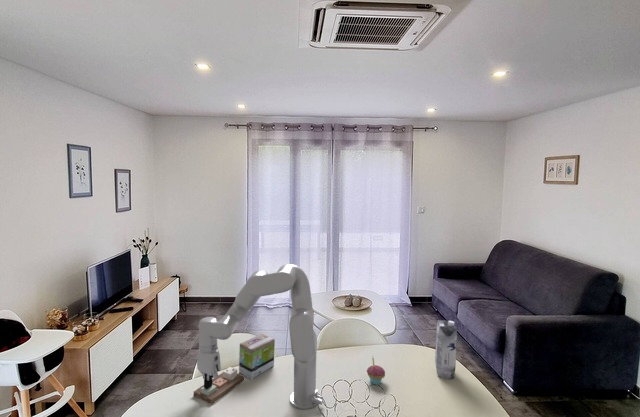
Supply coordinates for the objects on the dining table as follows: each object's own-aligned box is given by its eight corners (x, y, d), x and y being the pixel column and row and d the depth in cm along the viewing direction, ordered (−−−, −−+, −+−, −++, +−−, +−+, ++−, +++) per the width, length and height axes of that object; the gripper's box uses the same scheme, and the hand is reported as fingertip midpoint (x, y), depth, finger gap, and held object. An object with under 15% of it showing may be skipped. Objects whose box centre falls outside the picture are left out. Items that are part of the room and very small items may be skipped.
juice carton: (436, 378, 162) (438, 324, 160) (434, 366, 172) (436, 315, 170) (455, 380, 160) (458, 326, 158) (452, 369, 170) (455, 317, 168)
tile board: (244, 380, 157) (244, 376, 157) (211, 404, 140) (211, 399, 140) (227, 373, 163) (227, 369, 162) (193, 395, 145) (193, 391, 145)
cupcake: (364, 383, 157) (364, 358, 156) (370, 374, 164) (370, 350, 163) (381, 388, 153) (382, 363, 152) (387, 379, 160) (388, 355, 159)
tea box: (252, 379, 158) (252, 349, 157) (238, 372, 164) (238, 343, 163) (274, 366, 170) (275, 338, 169) (261, 359, 176) (261, 332, 175)
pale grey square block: (216, 392, 146) (216, 386, 146) (208, 398, 142) (208, 391, 142) (209, 389, 149) (209, 382, 148) (200, 395, 145) (200, 388, 144)
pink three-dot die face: (227, 386, 152) (227, 380, 152) (219, 392, 148) (219, 385, 148) (220, 383, 154) (220, 377, 154) (212, 389, 150) (212, 382, 150)
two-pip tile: (237, 375, 158) (237, 369, 157) (230, 380, 154) (230, 373, 153) (230, 372, 160) (230, 366, 160) (223, 377, 156) (223, 371, 156)
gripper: (227, 347, 143) (227, 388, 145) (203, 338, 151) (202, 377, 152) (214, 355, 137) (213, 397, 138) (189, 345, 144) (189, 386, 146)
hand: (208, 387), depth 145 cm, fingers closed
